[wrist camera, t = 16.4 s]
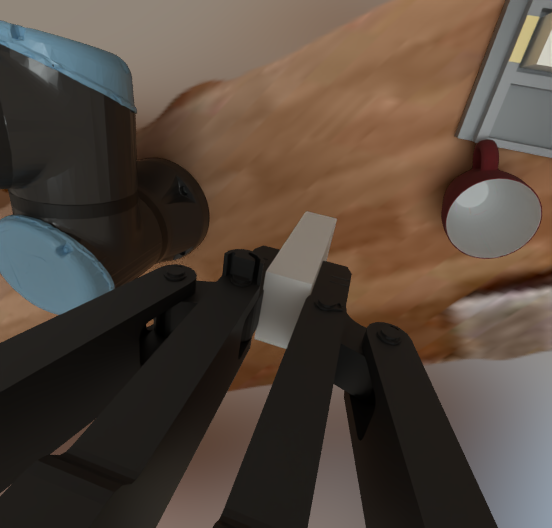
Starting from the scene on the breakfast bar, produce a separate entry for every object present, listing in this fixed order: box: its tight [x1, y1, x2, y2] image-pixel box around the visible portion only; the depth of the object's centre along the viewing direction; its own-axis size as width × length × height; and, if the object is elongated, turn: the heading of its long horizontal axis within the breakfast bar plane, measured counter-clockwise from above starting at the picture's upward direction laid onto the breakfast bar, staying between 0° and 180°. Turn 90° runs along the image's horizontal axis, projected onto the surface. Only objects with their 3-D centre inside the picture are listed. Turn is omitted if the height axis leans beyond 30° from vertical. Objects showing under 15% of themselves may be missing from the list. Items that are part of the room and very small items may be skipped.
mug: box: [441, 139, 542, 259], centre depth 37 cm, size 11×8×10 cm
